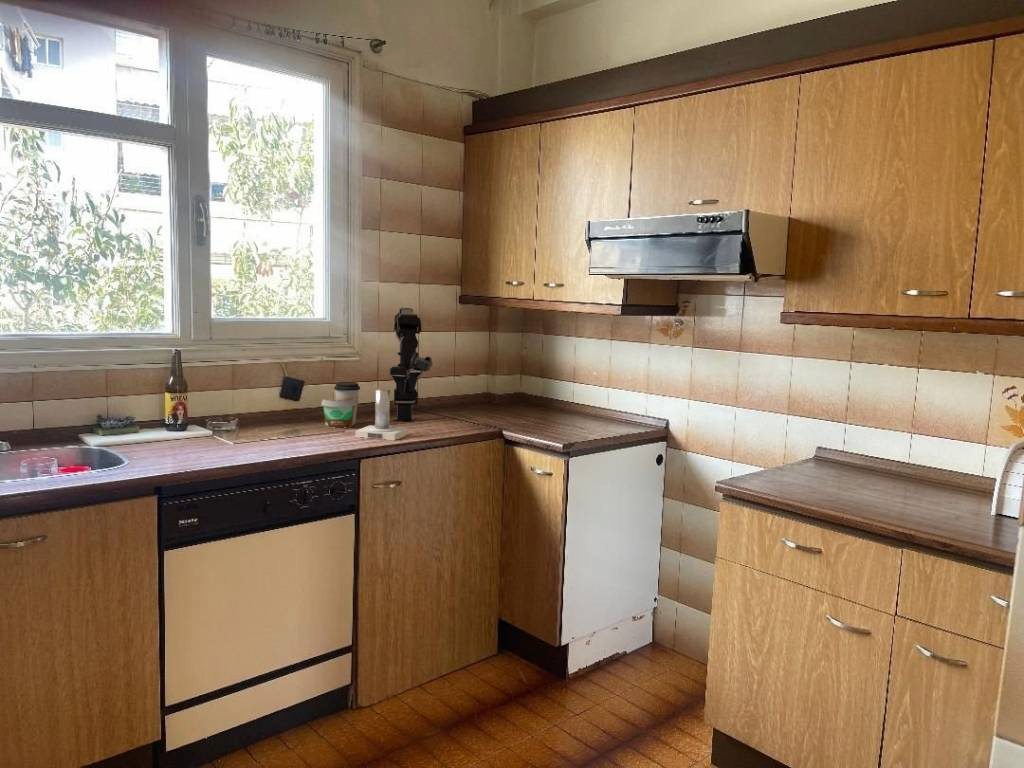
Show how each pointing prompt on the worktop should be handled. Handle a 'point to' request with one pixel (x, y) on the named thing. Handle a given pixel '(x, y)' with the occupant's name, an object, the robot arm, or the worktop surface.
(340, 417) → the food container
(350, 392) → the coffee cup
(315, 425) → the worktop surface
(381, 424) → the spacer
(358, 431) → the scale
